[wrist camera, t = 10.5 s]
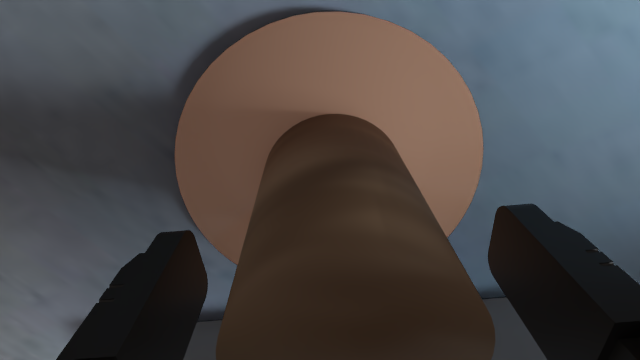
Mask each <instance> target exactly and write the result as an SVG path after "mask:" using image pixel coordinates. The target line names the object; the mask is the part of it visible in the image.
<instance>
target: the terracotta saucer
mask: <svg viewBox="0 0 640 360" xmlns="http://www.w3.org/2000/svg"><path fill="white" fill-rule="evenodd" d="M325 114H346V115H351V116H355V117H359V118H361V119H364V120H366V121H368V122H370V123H372V124H374V125H375V126H377V127H378V128H379V129H381V130H382V131H383V132H384V133H385V134H386V135H387V136H388V137H389V139H390V140H391V141H392V143H393V144H394V146H395V148H396V149H397V151H398V153H399V155H400V156H401V158H402V160H403V162H404V163H405V165H406V167H407V169H408V170H409V172H410V174H411V176H412V177H413V179H414V181H415V183H416V184H417V186H418V188H419V190H420V191H421V193H422V195H423V197H424V198H425V200H426V202H427V204H428V205H429V207H430V209H431V211H432V212H433V214H434V216H435V218H436V220H437V221H438V223H439V225H440V227H441V228H442V230H443V232H444V234H445V235H446V237H448V236H449V235H450V234H451V233H452V232H453V231H454V229H455V228H456V226H457V225H458V223H459V222H460V221H461V219H462V218H463V216H464V214H465V213H466V211H467V209H468V207H469V205H470V203H471V201H472V199H473V196H474V193H475V191H476V188H477V186H478V182H479V177H480V173H481V169H482V159H483V135H482V127H481V123H480V118H479V113H478V110H477V107H476V105H475V102H474V100H473V97H472V95H471V92H470V91H469V89H468V87H467V85H466V84H465V82H464V80H463V79H462V77H461V75H460V74H459V73H458V71H457V70H456V69H455V68H454V67H453V65H452V64H451V63H450V62H449V60H448V59H447V58H446V57H445V56H444V55H442V54H441V53H440V52H439V51H438V50H437V49H436V48H435V47H433V46H432V45H431V44H430V43H428V42H427V41H425V40H424V39H422V38H421V37H419V36H418V35H416V34H415V33H413V32H411V31H409V30H407V29H405V28H403V27H400V26H398V25H396V24H394V23H392V22H389V21H386V20H382V19H379V18H375V17H371V16H368V15H364V14H359V13H351V12H343V11H322V12H311V13H305V14H299V15H293V16H290V17H287V18H284V19H281V20H278V21H275V22H272V23H270V24H268V25H265V26H263V27H261V28H259V29H257V30H255V31H253V32H251V33H250V34H248V35H246V36H245V37H243V38H242V39H240V40H239V41H237V42H236V43H235V44H233V45H232V46H230V47H229V48H227V49H226V50H225V51H224V52H223V53H222V54H221V55H220V56H219V57H218V58H217V59H216V60H215V61H214V62H213V63H212V64H210V66H209V67H208V68H207V70H206V71H205V72H204V73H203V75H202V76H201V77H200V79H199V80H198V81H197V83H196V84H195V86H194V88H193V90H192V92H191V93H190V95H189V97H188V99H187V101H186V103H185V106H184V109H183V111H182V114H181V117H180V120H179V124H178V129H177V134H176V140H175V167H176V176H177V180H178V185H179V189H180V193H181V195H182V198H183V200H184V203H185V205H186V208H187V210H188V212H189V214H190V215H191V217H192V219H193V221H194V222H195V224H196V226H197V227H198V228H199V230H200V231H201V232H202V234H203V235H204V236H205V237H206V239H207V240H208V241H209V242H210V243H211V244H212V245H213V246H214V247H215V248H216V249H217V250H218V251H219V252H221V253H222V254H223V255H224V256H225V257H227V258H228V259H229V260H230V261H232V262H233V263H235V264H237V265H238V262H239V258H240V255H241V251H242V247H243V244H244V240H245V236H246V233H247V229H248V226H249V222H250V218H251V215H252V211H253V207H254V204H255V200H256V197H257V193H258V189H259V186H260V182H261V178H262V175H263V171H264V168H265V164H266V161H267V158H268V155H269V153H270V151H271V149H272V147H273V146H274V144H275V143H276V142H277V140H278V139H279V138H280V137H281V136H282V135H283V134H284V133H285V132H286V131H287V130H289V129H290V128H291V127H293V126H294V125H296V124H298V123H299V122H301V121H304V120H306V119H308V118H311V117H315V116H318V115H325Z"/></svg>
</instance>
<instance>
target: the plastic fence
mask: <svg viewBox="0 0 640 360" xmlns="http://www.w3.org/2000/svg"><path fill="white" fill-rule="evenodd" d="M482 300H483V302H484V304H485V306H486V307H487V309H488V311H489V313H490V315H491V317H492V321H493V324H494V328H495V348H494V353H493V356H492V359H491V360H547V358H546V357H545V355H544V354H543V352H542V351H541V349H540V348H539V346H538V345H537V343H536V341H535V340H534V338H533V337H532V335H531V334H530V332H529V331H528V329H527V328H526V326H525V325H524V323H523V322H522V320H521V318H520V317H519V315H518V314H517V312H516V311H515V309H514V308H513V306H512V305H511V303H510V302H509V300H508V298H507V297H504V298H492V299H482ZM221 323H222V320H217V321H204V322H197V323H196V326H195V329H194V331H193V334H192V337H191V340H190V342H189V345H188V348H187V351H186V354H185V356H184V359H183V360H216V344H217V338H218V334H219V331H220V327H221Z"/></svg>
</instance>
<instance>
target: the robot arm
mask: <svg viewBox="0 0 640 360" xmlns="http://www.w3.org/2000/svg"><path fill="white" fill-rule="evenodd" d="M488 262H489V267H490V270H491V273H492V275H493V277H494V279H495V280H496V282H497V283H498V285H499V286H500V288H501V289H502V291H503V292H504V294H505V295H506V297H507V298H508V300H509V302H510V303H511V305H512V306H513V308H514V309H515V311H516V312H517V314H518V315H519V317H520V318H521V320H522V322H523V323H524V325H525V326H526V328H527V329H528V331H529V332H530V334H531V335H532V337H533V338H534V340H535V341H536V343H537V345H538V346H539V348H540V349H541V351H542V352H543V354H544V355H545V357H546V358H547V360H640V285H639V284H638V283H637V282H636V281H634V280H633V279H632V278H631V277H630V276H629V275H628V274H626V273H625V272H624V271H623V270H622V269H621V268H619V267H618V266H617V265H616V266H614V265H613V261H611V260H610V259H609V258H608V257H607V256H606V255H605V254H603V253H602V252H599V251H598V248H597V247H595V246H594V245H593V244H592V243H591V242H590V241H589V240H587V239H586V238H585V237H584V236H583V235H582V234H580V233H579V232H577V231H575V230H573V229H571V228H569V227H567V226H565V225H563V224H561V223H559V222H554V221H552V220H551V219H550V218H549V217H548V216H547V215H546V214H545V213H544V212H543V211H542V210H541V209H539V208H538V207H537V206H536V205H534V204H522V205H509V206H501V207H499V208H498V209H497V211H496V215H495V220H494V225H493V230H492V235H491V241H490V246H489V251H488ZM207 287H208V281H207V274H206V271H205V267H204V264H203V261H202V258H201V255H200V252H199V249H198V246H197V243H196V240H195V237H194V235H193V233H192V232H191V231H190V230H186V231H174V232H161V233H159V234H158V235H157V236H156V237H155V239H154V240H153V242H152V243H151V245H150V246H149V248H148V249H147V251H146V252H145V253H140V254H138V255H137V256H136V257H135V258H133V259H132V260H131V261H130V262H128V263H127V264H126V265H125V266H124V267H122V268H121V270H120V271H119V272H118V274H117V275H116V277H115V278H114V279H113V281H112V282H111V284H110V287H109V288H107V289H106V291H105V292H104V293H103V295H102V296H101V298H100V299H99V303H96V305H95V306H94V307H93V309H92V310H91V312H90V313H89V314H88V316H87V317H86V318H85V320H84V321H83V323H82V324H81V325H80V327H79V328H78V330H77V331H76V332H75V334H74V335H73V337H72V338H71V339H70V341H69V342H68V344H67V345H66V346H65V348H64V349H63V351H62V352H61V353H60V355H59V356H58V358H57V359H56V360H183V359H184V356H185V354H186V351H187V348H188V345H189V342H190V340H191V337H192V334H193V331H194V329H195V326H196V323H197V320H198V318H199V315H200V312H201V309H202V306H203V304H204V301H205V298H206V294H207Z"/></svg>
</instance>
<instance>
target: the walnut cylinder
mask: <svg viewBox="0 0 640 360" xmlns="http://www.w3.org/2000/svg"><path fill="white" fill-rule="evenodd" d="M494 348H495V328H494V324H493V321H492V317H491V315H490V313H489V311H488V309H487V307H486V306H485V304H484V302H483V300H482V299H481V297H480V295H479V293H478V292H477V290H476V288H475V286H474V284H473V283H472V281H471V279H470V277H469V276H468V274H467V272H466V270H465V269H464V267H463V265H462V263H461V262H460V260H459V258H458V256H457V255H456V253H455V251H454V249H453V248H452V246H451V244H450V242H449V241H448V239H447V237H446V235H445V234H444V232H443V230H442V228H441V227H440V225H439V223H438V221H437V220H436V218H435V216H434V214H433V212H432V211H431V209H430V207H429V205H428V204H427V202H426V200H425V198H424V197H423V195H422V193H421V191H420V190H419V188H418V186H417V184H416V183H415V181H414V179H413V177H412V176H411V174H410V172H409V170H408V169H407V167H406V165H405V163H404V162H403V160H402V158H401V156H400V155H399V153H398V151H397V149H396V148H395V146H394V144H393V143H392V141H391V140H390V139H389V137H388V136H387V135H386V134H385V133H384V132H383V131H382V130H381V129H379V128H378V127H377V126H375V125H374V124H372V123H370V122H368V121H366V120H364V119H361V118H359V117H355V116H351V115H346V114H325V115H318V116H315V117H311V118H308V119H306V120H304V121H301V122H299V123H298V124H296V125H294V126H293V127H291V128H290V129H289V130H287V131H286V132H285V133H284V134H283V135H282V136H281V137H280V138H279V139H278V140H277V142H276V143H275V144H274V146H273V147H272V149H271V151H270V153H269V155H268V158H267V161H266V164H265V168H264V171H263V175H262V178H261V182H260V186H259V189H258V193H257V197H256V200H255V204H254V207H253V211H252V215H251V218H250V222H249V226H248V229H247V233H246V236H245V240H244V244H243V247H242V251H241V255H240V258H239V262H238V265H237V269H236V273H235V276H234V280H233V284H232V287H231V291H230V294H229V298H228V302H227V305H226V309H225V313H224V316H223V320H222V323H221V327H220V331H219V334H218V338H217V344H216V360H491V359H492V356H493V353H494Z"/></svg>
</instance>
